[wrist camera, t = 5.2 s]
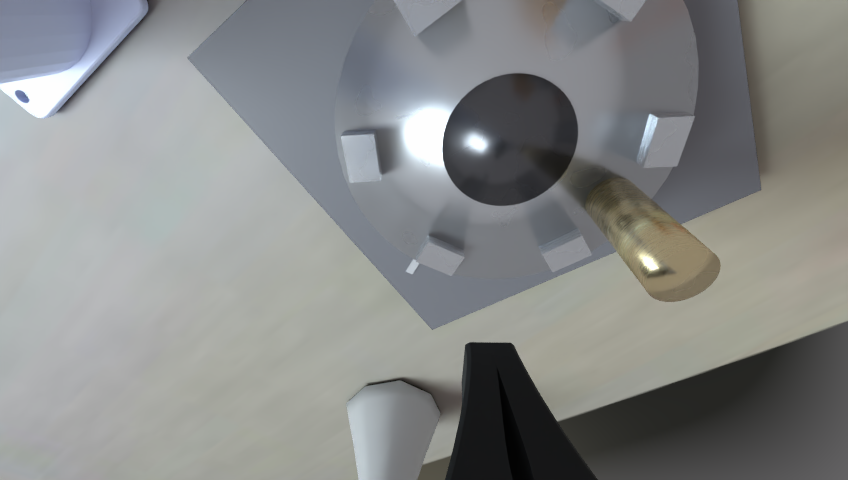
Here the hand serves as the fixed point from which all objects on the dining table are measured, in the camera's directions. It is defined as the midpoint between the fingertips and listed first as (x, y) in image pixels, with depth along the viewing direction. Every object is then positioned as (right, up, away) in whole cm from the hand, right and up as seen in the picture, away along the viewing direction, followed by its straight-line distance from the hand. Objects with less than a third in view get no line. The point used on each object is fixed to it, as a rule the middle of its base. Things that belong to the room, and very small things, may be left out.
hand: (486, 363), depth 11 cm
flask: (-4, -10, +18) cm, 21 cm away
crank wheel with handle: (+1, +8, +4) cm, 9 cm away
